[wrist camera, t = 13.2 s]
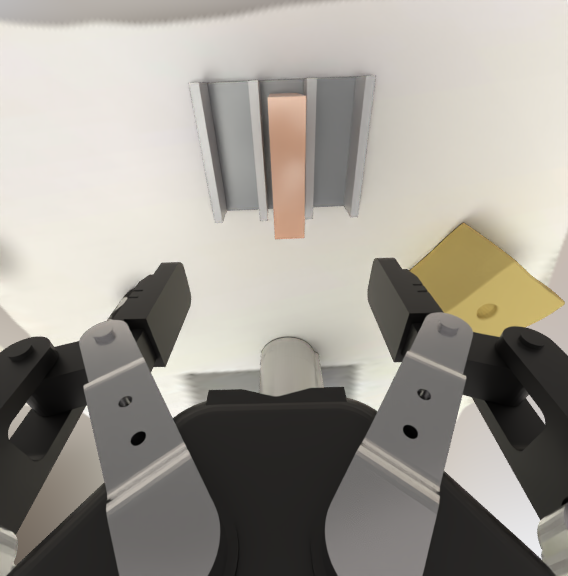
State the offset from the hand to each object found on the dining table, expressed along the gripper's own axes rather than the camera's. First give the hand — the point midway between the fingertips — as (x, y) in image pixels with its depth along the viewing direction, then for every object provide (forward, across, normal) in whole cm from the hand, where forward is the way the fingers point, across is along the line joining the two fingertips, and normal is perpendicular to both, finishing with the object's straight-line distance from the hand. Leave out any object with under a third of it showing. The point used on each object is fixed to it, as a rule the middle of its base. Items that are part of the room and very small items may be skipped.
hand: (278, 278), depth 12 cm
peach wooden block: (+22, -1, -1) cm, 22 cm away
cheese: (+24, -24, +14) cm, 36 cm away
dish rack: (+23, -1, -1) cm, 23 cm away
